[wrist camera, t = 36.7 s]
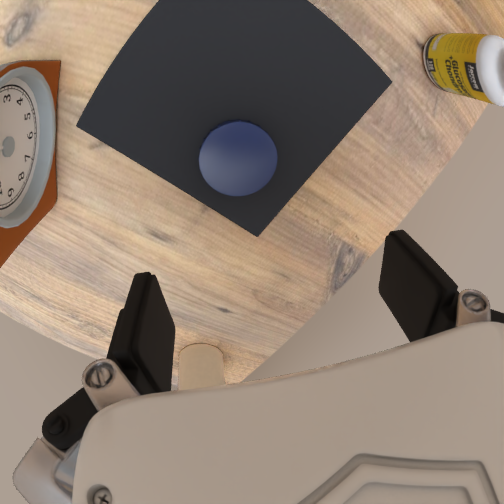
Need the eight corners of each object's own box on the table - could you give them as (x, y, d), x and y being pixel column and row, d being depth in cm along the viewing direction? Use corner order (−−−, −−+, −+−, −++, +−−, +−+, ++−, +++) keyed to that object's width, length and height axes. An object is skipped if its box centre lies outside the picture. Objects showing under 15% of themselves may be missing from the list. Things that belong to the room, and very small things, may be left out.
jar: (231, 351, 38) (239, 420, 30) (211, 374, 41) (214, 438, 32) (189, 337, 36) (188, 410, 27) (172, 362, 39) (169, 429, 30)
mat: (390, 81, 22) (392, 81, 22) (256, 235, 29) (257, 237, 29) (216, -56, 14) (216, -57, 14) (77, 125, 21) (75, 126, 21)
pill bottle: (410, 42, 20) (501, 46, 10) (449, 27, 19) (535, 32, 9) (434, 100, 23) (521, 128, 14) (470, 81, 22) (551, 103, 12)
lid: (289, 150, 25) (294, 155, 24) (241, 203, 27) (243, 211, 26) (232, 103, 22) (233, 105, 21) (183, 162, 24) (182, 167, 23)
